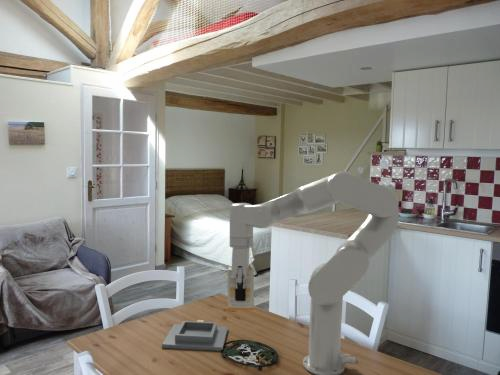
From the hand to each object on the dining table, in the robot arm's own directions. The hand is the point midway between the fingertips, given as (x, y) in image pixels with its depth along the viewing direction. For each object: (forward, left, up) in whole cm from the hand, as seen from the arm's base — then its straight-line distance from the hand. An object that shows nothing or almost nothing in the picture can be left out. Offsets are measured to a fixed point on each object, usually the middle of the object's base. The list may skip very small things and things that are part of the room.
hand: (241, 297), depth 129 cm
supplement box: (0, 0, -4) cm, 4 cm away
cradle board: (+16, -9, -18) cm, 26 cm away
